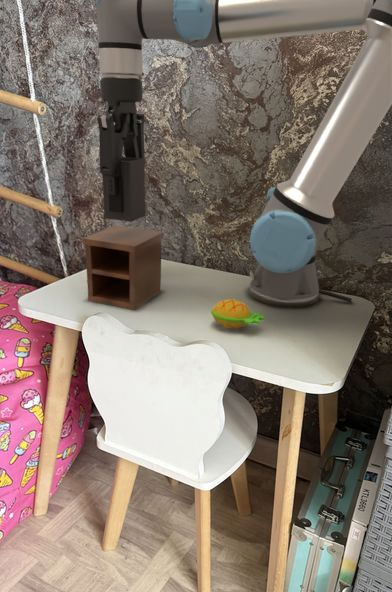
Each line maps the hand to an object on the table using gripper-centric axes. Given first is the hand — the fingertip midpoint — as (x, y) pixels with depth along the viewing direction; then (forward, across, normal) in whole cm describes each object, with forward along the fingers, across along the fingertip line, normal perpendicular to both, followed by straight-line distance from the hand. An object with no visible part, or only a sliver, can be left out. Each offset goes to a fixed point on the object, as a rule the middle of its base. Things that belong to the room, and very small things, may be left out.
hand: (124, 208), depth 103 cm
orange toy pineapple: (+19, +5, +26) cm, 33 cm away
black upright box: (+2, 0, 0) cm, 2 cm away
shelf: (+19, 0, 0) cm, 19 cm away
